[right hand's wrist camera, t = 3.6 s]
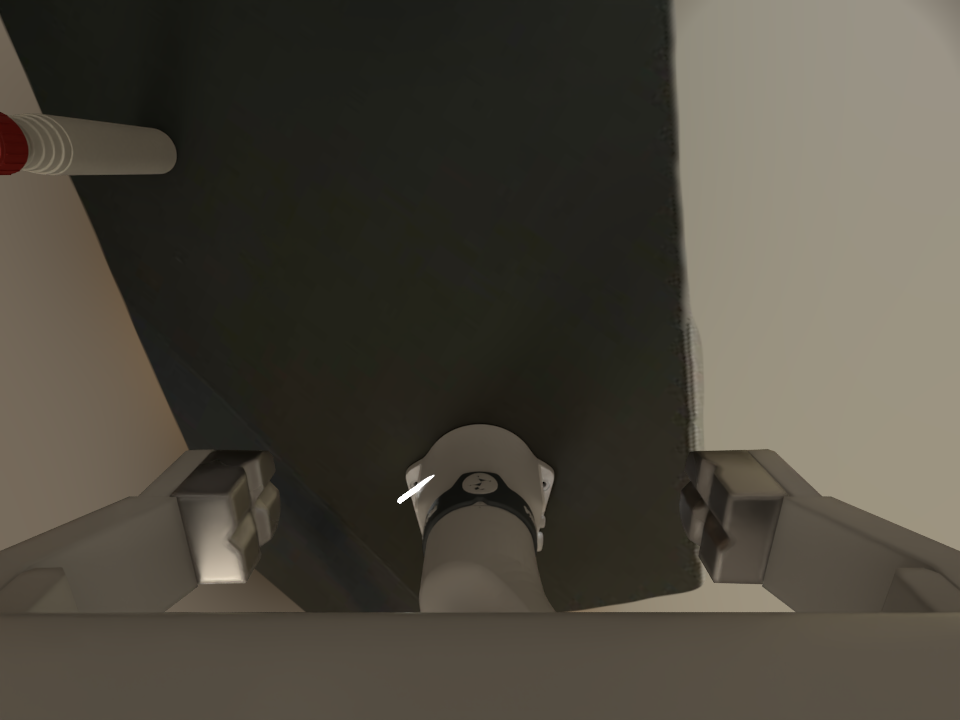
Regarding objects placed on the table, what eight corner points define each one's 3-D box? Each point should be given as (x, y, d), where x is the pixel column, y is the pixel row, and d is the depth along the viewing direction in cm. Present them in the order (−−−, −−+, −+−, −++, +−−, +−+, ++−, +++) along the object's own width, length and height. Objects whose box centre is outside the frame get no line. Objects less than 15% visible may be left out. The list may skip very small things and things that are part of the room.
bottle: (124, 147, 52) (-76, 135, 34) (152, 118, 51) (-38, 88, 33) (158, 182, 54) (-17, 190, 35) (185, 155, 53) (20, 146, 34)
